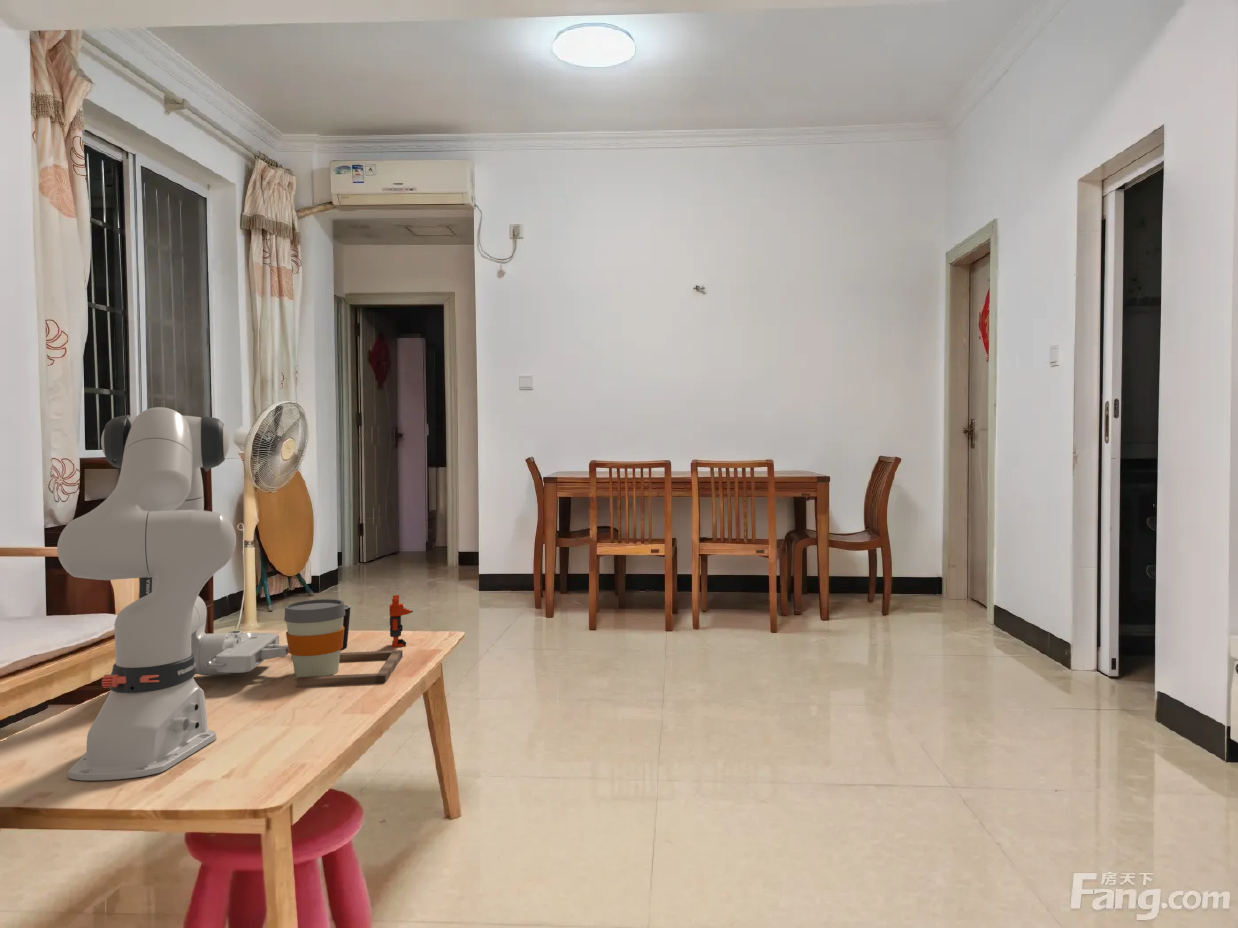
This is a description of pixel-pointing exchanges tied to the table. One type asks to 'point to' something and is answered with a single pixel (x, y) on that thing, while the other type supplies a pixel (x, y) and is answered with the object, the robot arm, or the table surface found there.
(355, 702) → the table surface
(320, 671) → the reusable coffee cup
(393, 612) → the toy animal
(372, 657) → the walnut bay
